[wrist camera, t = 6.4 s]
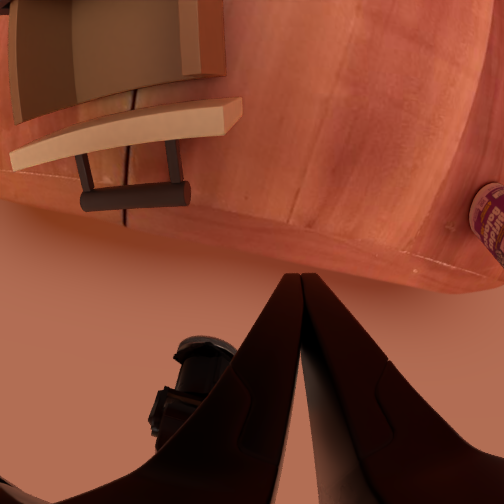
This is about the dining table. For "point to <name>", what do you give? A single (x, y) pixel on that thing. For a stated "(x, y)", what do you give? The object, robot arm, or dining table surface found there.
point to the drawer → (116, 83)
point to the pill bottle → (489, 219)
